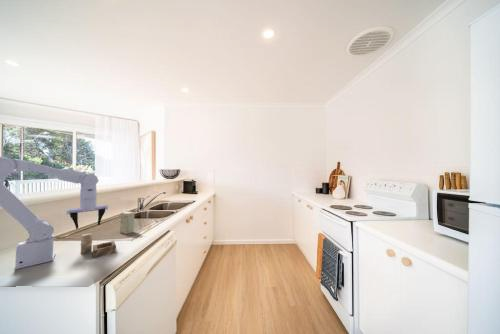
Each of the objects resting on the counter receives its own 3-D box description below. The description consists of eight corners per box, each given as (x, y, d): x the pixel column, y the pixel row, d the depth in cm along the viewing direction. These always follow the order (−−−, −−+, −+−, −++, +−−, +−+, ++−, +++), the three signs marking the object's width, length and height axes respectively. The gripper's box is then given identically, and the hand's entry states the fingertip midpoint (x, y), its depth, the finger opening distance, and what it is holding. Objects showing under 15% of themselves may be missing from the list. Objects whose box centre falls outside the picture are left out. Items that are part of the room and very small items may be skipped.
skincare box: (119, 233, 103) (120, 212, 104) (126, 230, 107) (127, 211, 108) (127, 234, 101) (127, 213, 102) (134, 231, 106) (134, 211, 106)
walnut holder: (93, 257, 73) (93, 250, 74) (92, 251, 79) (93, 245, 79) (115, 252, 79) (115, 245, 79) (113, 246, 84) (114, 240, 84)
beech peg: (80, 255, 76) (81, 236, 76) (80, 252, 78) (81, 234, 79) (91, 252, 78) (92, 234, 78) (91, 249, 81) (92, 232, 81)
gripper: (66, 201, 75) (65, 232, 75) (108, 197, 85) (108, 224, 85) (67, 199, 80) (66, 228, 80) (107, 196, 90) (107, 221, 90)
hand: (88, 226), depth 83 cm, fingers open, 7 cm apart
